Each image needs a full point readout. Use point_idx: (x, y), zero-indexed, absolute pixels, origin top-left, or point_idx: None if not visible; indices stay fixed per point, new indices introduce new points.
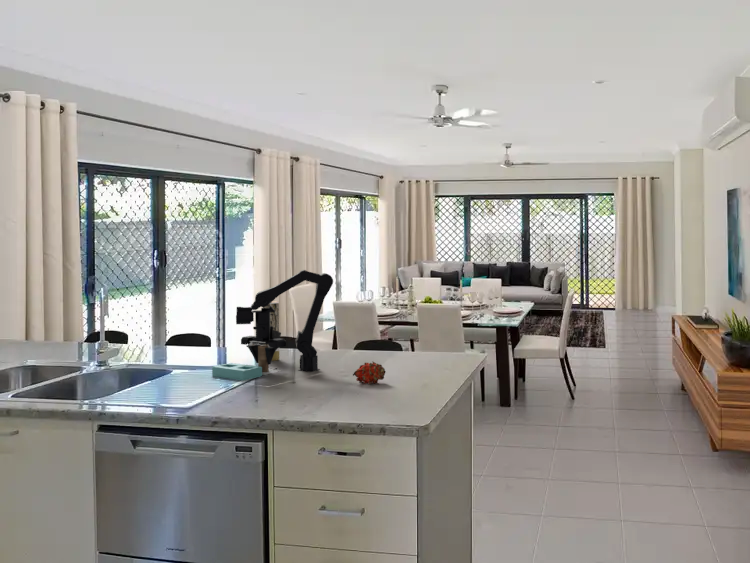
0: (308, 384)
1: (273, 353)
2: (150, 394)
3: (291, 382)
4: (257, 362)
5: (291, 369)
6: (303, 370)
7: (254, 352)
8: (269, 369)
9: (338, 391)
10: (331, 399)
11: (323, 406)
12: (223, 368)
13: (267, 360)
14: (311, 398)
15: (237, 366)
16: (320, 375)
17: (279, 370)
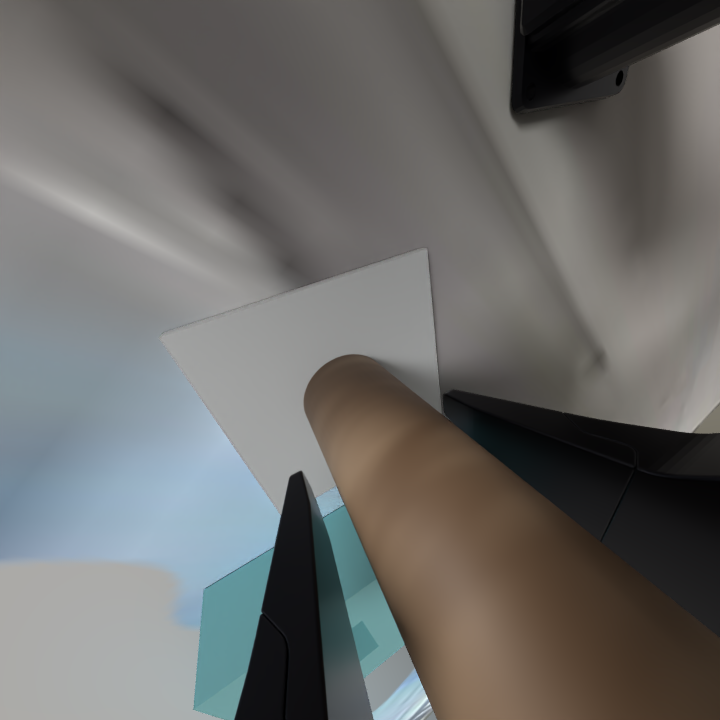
0: (645, 332)
1: (613, 434)
2: (401, 693)
3: (593, 367)
4: (311, 491)
5: (387, 31)
6: (569, 86)
7: (365, 692)
8: (298, 311)
9: (713, 313)
10: (697, 372)
11: (685, 408)
12: (377, 663)
13: (485, 448)
14: (666, 403)
15: (389, 616)
16: (666, 121)
17: (408, 261)
